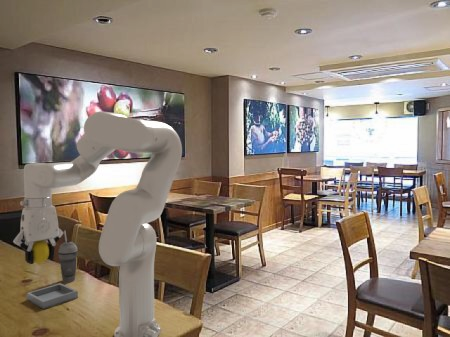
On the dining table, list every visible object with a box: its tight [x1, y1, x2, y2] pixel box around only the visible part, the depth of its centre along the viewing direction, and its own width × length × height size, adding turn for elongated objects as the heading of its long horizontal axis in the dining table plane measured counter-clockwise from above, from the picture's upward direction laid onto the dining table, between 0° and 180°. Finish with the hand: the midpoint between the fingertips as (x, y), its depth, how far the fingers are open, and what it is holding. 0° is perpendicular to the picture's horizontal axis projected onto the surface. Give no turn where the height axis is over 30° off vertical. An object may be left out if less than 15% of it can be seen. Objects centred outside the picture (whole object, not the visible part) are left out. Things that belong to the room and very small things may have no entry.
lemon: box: [32, 240, 49, 266], centre depth 118 cm, size 6×6×8 cm
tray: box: [26, 282, 79, 310], centre depth 131 cm, size 12×12×2 cm
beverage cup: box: [57, 230, 79, 283], centre depth 149 cm, size 7×7×20 cm
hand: (40, 260), depth 118 cm, fingers closed on lemon, 5 cm apart
